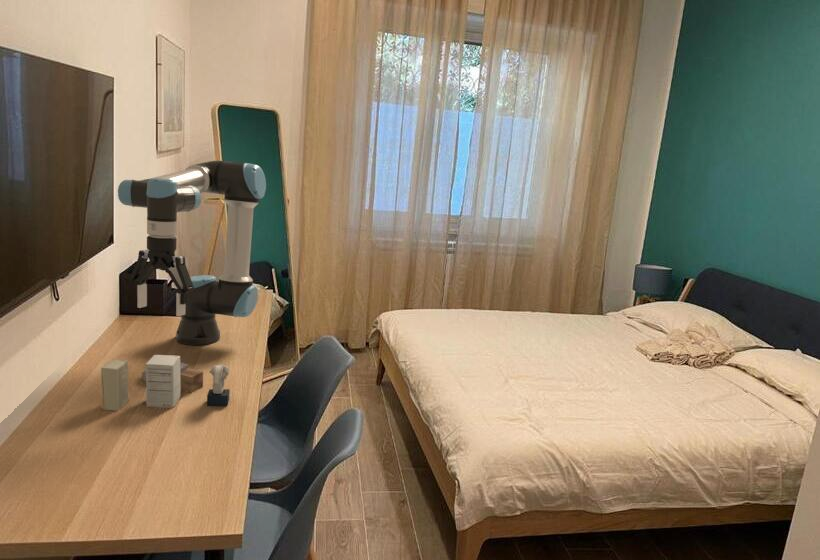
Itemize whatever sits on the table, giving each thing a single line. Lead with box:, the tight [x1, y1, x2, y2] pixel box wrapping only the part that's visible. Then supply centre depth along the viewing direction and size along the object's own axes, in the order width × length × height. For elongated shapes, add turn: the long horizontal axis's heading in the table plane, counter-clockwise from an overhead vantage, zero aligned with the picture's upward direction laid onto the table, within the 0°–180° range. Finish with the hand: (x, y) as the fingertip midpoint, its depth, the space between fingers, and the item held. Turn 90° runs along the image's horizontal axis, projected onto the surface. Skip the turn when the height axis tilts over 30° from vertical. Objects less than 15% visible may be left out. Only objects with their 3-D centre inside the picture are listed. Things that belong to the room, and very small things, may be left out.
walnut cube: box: [180, 367, 204, 394], centre depth 176 cm, size 5×5×5 cm
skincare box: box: [100, 358, 130, 411], centre depth 160 cm, size 6×4×12 cm
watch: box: [206, 364, 231, 407], centre depth 167 cm, size 6×8×11 cm
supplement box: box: [145, 354, 182, 409], centre depth 165 cm, size 7×7×13 cm
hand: (161, 311), depth 166 cm, fingers open, 13 cm apart
